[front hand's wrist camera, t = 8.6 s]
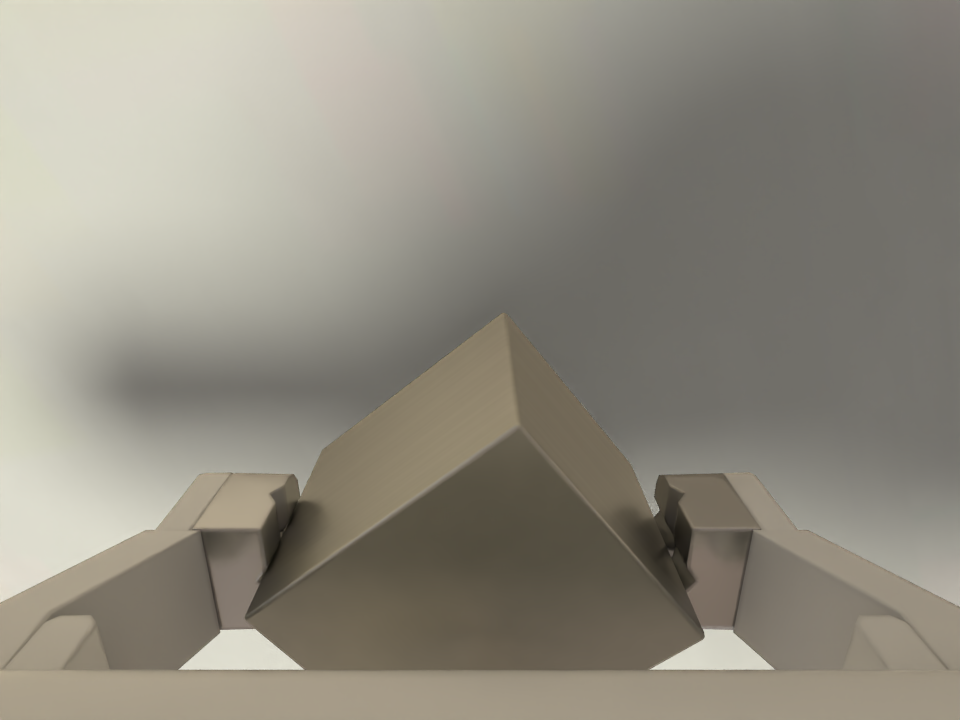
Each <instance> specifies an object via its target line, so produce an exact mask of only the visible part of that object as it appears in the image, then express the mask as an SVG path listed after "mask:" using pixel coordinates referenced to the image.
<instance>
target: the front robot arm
mask: <svg viewBox="0 0 960 720" xmlns="http://www.w3.org/2000/svg"><path fill="white" fill-rule="evenodd" d="M654 497H655V500H656V502H657V504H658V506H659V509H660V511H659V512H658V513H657V514H656V515H655V517H654V519H655V522H656V524H657V526H658V528H659V531H660V533H661V535H662V538H663V540H664V542H665V544H666V546H667V549H668V551H669V553H670V555H671V559H672V561H673V563H674V565H675V568H676V570H677V572H678V575H679V577H680V579H681V581H682V584H683V586H684V588H685V591H686V592H687V595H688V597H689V599H690V601H691V604H692V606H693V608H694V611H695V613H696V615H697V618H698V620H699V622H700V624H701V627H702V629H724V630H734V633H735V634H736V635H737V636H738V637H739V638H740V639H742V640H743V641H744V642H745V643H746V644H747V645H748V646H749V647H751V648H752V649H753V650H754V651H755V652H756V653H757V654H759V655H760V656H761V657H762V658H763V659H764V660H765V661H766V662H768V663H769V664H770V665H771V666H772V667H773V668H774V669H775V670H178V669H179V668H180V667H182V666H183V665H184V664H185V663H186V662H187V661H188V660H190V659H191V658H192V657H193V656H194V655H195V654H196V653H198V652H199V651H200V650H201V649H202V648H203V647H204V646H206V645H207V644H208V643H209V642H210V641H211V640H212V639H214V638H215V637H216V636H217V635H218V634H219V633H220V630H229V629H255V628H254V627H252V626H251V625H250V624H249V623H247V622H246V620H245V615H246V613H247V610H248V608H249V606H250V604H251V602H252V600H253V598H254V595H255V593H256V591H257V589H258V587H259V585H260V582H261V580H262V578H263V576H264V574H265V572H266V570H267V567H268V565H269V563H270V561H271V559H272V557H273V555H274V552H275V550H276V548H277V546H278V544H279V542H280V540H281V537H282V535H283V533H284V531H285V529H286V527H287V525H288V522H289V520H290V518H291V516H292V514H293V512H294V509H295V507H296V505H297V503H298V501H299V499H300V492H299V486H298V480H297V478H296V477H295V475H294V474H261V473H204V474H200V475H199V476H198V477H197V478H196V479H195V480H194V482H193V483H192V484H191V486H190V487H189V488H188V489H187V491H186V492H185V493H184V494H183V496H182V497H181V498H180V499H179V501H178V502H177V503H176V504H175V506H174V507H173V508H172V510H171V511H170V512H169V513H168V515H167V516H166V517H165V518H164V520H163V521H162V522H161V523H160V525H159V526H158V527H157V529H156V530H145V531H143V532H141V533H139V534H137V535H135V536H133V537H131V538H129V539H127V540H125V541H123V542H121V543H119V544H117V545H115V546H113V547H111V548H109V549H107V550H105V551H103V552H101V553H99V554H97V555H95V556H93V557H91V558H89V559H87V560H85V561H83V562H81V563H79V564H77V565H75V566H73V567H71V568H69V569H67V570H65V571H63V572H61V573H59V574H57V575H55V576H53V577H51V578H49V579H47V580H45V581H43V582H41V583H39V584H37V585H35V586H33V587H31V588H29V589H27V590H25V591H23V592H21V593H19V594H17V595H15V596H13V597H11V598H9V599H7V600H5V601H3V602H1V603H0V720H960V607H958V606H956V605H954V604H952V603H950V602H949V601H947V600H945V599H943V598H941V597H939V596H937V595H935V594H933V593H931V592H929V591H927V590H925V589H923V588H921V587H919V586H917V585H915V584H913V583H911V582H909V581H907V580H905V579H903V578H901V577H899V576H897V575H895V574H893V573H891V572H889V571H887V570H885V569H883V568H881V567H879V566H877V565H876V564H874V563H872V562H870V561H868V560H866V559H864V558H862V557H860V556H858V555H856V554H854V553H852V552H850V551H848V550H846V549H844V548H842V547H840V546H838V545H836V544H834V543H832V542H830V541H828V540H826V539H824V538H822V537H820V536H818V535H816V534H814V533H812V532H810V531H808V530H798V529H797V528H796V527H795V526H794V524H793V523H792V522H791V520H790V519H789V518H788V517H787V515H786V514H785V513H784V511H783V510H782V509H781V508H780V506H779V505H778V504H777V502H776V501H775V500H774V499H773V497H772V496H771V495H770V493H769V492H768V491H767V490H766V488H765V487H764V486H763V484H762V483H761V482H760V481H759V479H758V478H757V477H756V475H754V474H752V473H750V472H745V473H719V474H680V475H659V477H658V480H657V483H656V488H655V495H654Z"/></svg>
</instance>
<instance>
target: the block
mask: <svg viewBox="0 0 960 720" xmlns="http://www.w3.org/2000/svg"><path fill="white" fill-rule="evenodd" d="M245 620H246V622H247V623H249V624H250V625H251V626H252V627H254V628H255V629H256V630H257V631H258V632H260V633H261V634H262V635H263V636H264V637H266V638H267V639H268V640H269V641H271V642H272V643H273V644H274V645H275V646H277V647H278V648H279V649H280V650H281V651H283V652H284V653H285V654H286V655H288V656H289V657H290V658H291V659H292V660H294V661H295V662H296V663H297V664H298V665H300V666H301V667H302V668H303V669H305V670H649V669H651V668H653V667H655V666H656V665H658V664H660V663H662V662H664V661H665V660H667V659H669V658H671V657H673V656H674V655H676V654H678V653H680V652H681V651H683V650H685V649H687V648H689V647H690V646H692V645H694V644H696V643H698V642H699V641H701V640H703V639H704V637H705V636H704V631H703V629H702V627H701V624H700V622H699V620H698V618H697V615H696V613H695V611H694V608H693V606H692V604H691V601H690V599H689V597H688V595H687V592H686V591H685V588H684V586H683V584H682V581H681V579H680V577H679V575H678V572H677V570H676V568H675V565H674V563H673V561H672V559H671V555H670V553H669V551H668V549H667V546H666V544H665V542H664V540H663V538H662V535H661V533H660V531H659V528H658V526H657V524H656V522H655V519H654V516H653V514H652V512H651V510H650V507H649V505H648V503H647V500H646V498H645V496H644V493H643V491H642V489H641V487H640V484H639V482H638V480H637V477H636V475H635V473H634V470H633V468H632V466H631V464H630V463H629V462H628V460H627V459H626V458H625V457H624V455H623V454H622V453H621V452H620V451H619V449H618V448H617V447H616V446H615V445H614V443H613V442H612V441H611V440H610V438H609V437H608V436H607V435H606V434H605V432H604V431H603V430H602V429H601V428H600V426H599V425H598V424H597V423H596V421H595V420H594V419H593V418H592V417H591V415H590V414H589V413H588V412H587V411H586V409H585V408H584V407H583V406H582V404H581V403H580V402H579V401H578V400H577V398H576V397H575V396H574V395H573V394H572V392H571V391H570V390H569V389H568V387H567V386H566V385H565V384H564V383H563V381H562V380H561V379H560V378H559V376H558V375H557V374H556V373H555V372H554V370H553V369H552V368H551V367H550V366H549V364H548V363H547V362H546V361H545V359H544V358H543V357H542V356H541V355H540V353H539V352H538V351H537V350H536V349H535V347H534V346H533V345H532V344H531V342H530V341H529V340H528V339H527V338H526V336H525V335H524V334H523V333H522V332H521V330H520V329H519V328H518V327H517V325H516V324H515V323H514V322H513V321H512V319H511V318H510V317H509V316H508V315H507V314H506V313H501V314H500V315H499V316H498V317H496V318H495V319H494V320H492V321H491V322H490V323H488V324H487V325H486V326H484V327H483V328H482V329H480V330H479V331H478V332H477V333H475V334H474V335H473V336H471V337H470V338H469V339H467V340H466V341H465V342H463V343H462V344H461V345H459V346H458V347H457V348H456V349H454V350H453V351H452V352H450V353H449V354H448V355H446V356H445V357H444V358H442V359H441V360H440V361H439V362H437V363H436V364H435V365H433V366H432V367H431V368H429V369H428V370H427V371H425V372H424V373H423V374H421V375H420V376H419V377H418V378H416V379H415V380H414V381H412V382H411V383H410V384H408V385H407V386H406V387H404V388H403V389H402V390H400V391H399V392H398V393H397V394H395V395H394V396H393V397H391V398H390V399H389V400H387V401H386V402H385V403H383V404H382V405H381V406H379V407H378V408H377V409H376V410H374V411H373V412H372V413H370V414H369V415H368V416H366V417H365V418H364V419H362V420H361V421H360V422H358V423H357V424H356V425H355V426H353V427H352V428H351V429H349V430H348V431H347V432H345V433H344V434H343V435H341V436H340V437H339V438H338V439H336V440H335V441H334V442H332V443H331V444H330V445H328V446H327V447H326V448H324V449H323V450H322V452H321V454H320V456H319V458H318V460H317V462H316V464H315V467H314V469H313V471H312V473H311V475H310V477H309V479H308V482H307V484H306V486H305V488H304V490H303V492H302V494H301V497H300V499H299V501H298V503H297V505H296V507H295V510H294V512H293V514H292V516H291V518H290V520H289V522H288V525H287V527H286V529H285V531H284V533H283V535H282V537H281V540H280V542H279V544H278V546H277V548H276V550H275V552H274V555H273V557H272V559H271V561H270V563H269V565H268V567H267V570H266V572H265V574H264V576H263V578H262V580H261V582H260V585H259V587H258V589H257V591H256V593H255V595H254V598H253V600H252V602H251V604H250V606H249V608H248V610H247V613H246V615H245Z"/></svg>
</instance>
